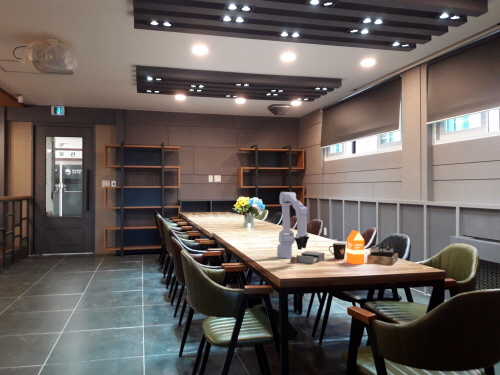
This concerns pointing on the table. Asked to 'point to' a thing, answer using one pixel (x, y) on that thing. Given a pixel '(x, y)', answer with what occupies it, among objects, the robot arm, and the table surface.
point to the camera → (381, 251)
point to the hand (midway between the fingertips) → (301, 248)
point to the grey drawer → (306, 259)
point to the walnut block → (293, 260)
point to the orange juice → (355, 248)
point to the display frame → (383, 259)
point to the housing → (314, 255)
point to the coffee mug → (338, 250)
